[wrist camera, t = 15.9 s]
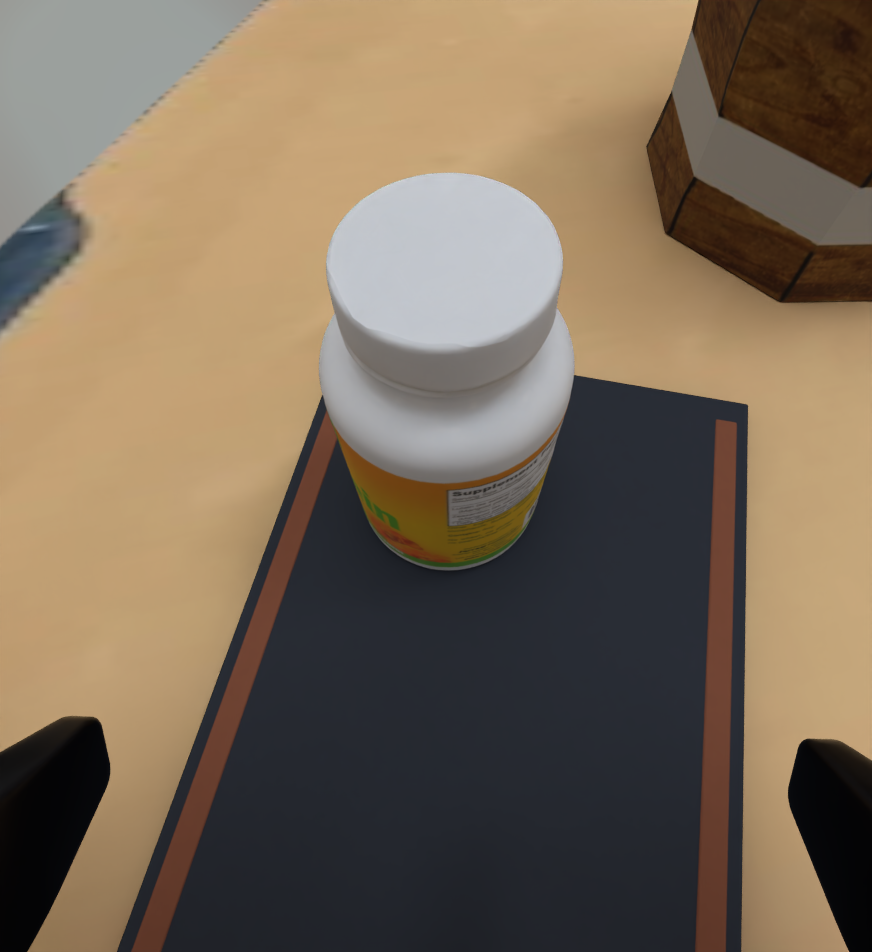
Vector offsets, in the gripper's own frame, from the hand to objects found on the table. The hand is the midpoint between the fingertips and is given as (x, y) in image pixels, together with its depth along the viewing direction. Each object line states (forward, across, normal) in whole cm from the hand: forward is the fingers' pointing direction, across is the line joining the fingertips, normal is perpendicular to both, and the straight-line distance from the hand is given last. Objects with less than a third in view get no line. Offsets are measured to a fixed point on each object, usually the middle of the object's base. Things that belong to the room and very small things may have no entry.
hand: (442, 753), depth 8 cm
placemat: (+8, -1, +5) cm, 9 cm away
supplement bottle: (+12, 0, +1) cm, 12 cm away
